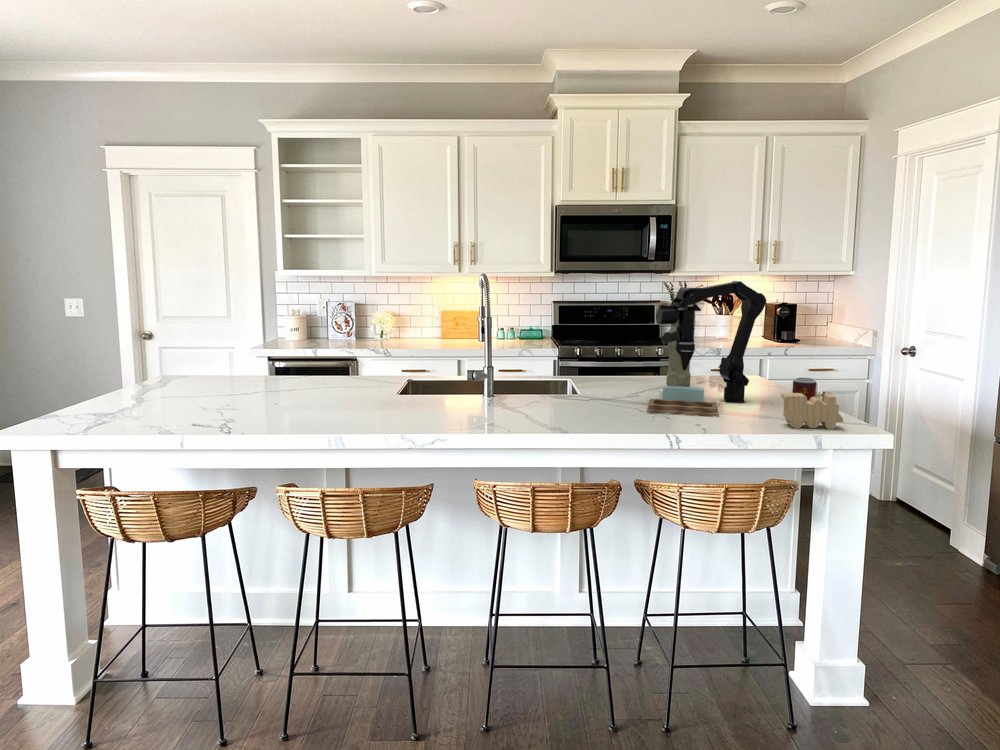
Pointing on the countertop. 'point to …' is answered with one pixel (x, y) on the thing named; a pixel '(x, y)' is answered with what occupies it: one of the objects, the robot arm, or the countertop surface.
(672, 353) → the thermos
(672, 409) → the tray
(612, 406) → the countertop surface
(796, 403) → the toy train
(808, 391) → the soda can
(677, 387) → the pale blue block
